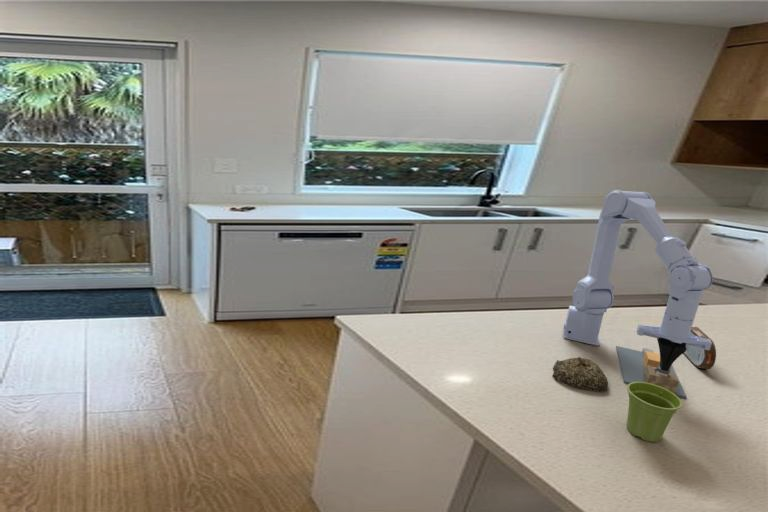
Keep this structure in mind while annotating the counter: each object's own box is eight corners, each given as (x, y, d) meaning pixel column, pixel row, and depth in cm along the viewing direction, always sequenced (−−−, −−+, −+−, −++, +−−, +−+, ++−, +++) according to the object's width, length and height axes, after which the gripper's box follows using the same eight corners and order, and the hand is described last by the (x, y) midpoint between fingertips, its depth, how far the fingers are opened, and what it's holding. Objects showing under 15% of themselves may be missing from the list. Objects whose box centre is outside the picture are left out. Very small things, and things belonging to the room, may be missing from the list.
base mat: (624, 383, 108) (624, 381, 108) (615, 347, 127) (616, 345, 127) (686, 398, 104) (686, 396, 103) (668, 359, 122) (668, 357, 122)
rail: (651, 380, 109) (652, 375, 109) (641, 352, 124) (643, 348, 123) (662, 383, 108) (664, 377, 108) (651, 355, 123) (652, 350, 122)
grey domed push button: (653, 385, 106) (657, 369, 105) (651, 379, 109) (655, 364, 107) (666, 388, 105) (671, 372, 104) (664, 382, 108) (669, 367, 107)
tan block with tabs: (644, 373, 112) (648, 359, 110) (641, 364, 116) (645, 350, 115) (667, 378, 110) (671, 364, 109) (663, 369, 114) (667, 355, 113)
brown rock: (610, 397, 102) (615, 378, 100) (552, 384, 105) (557, 365, 103) (601, 370, 113) (605, 353, 112) (550, 359, 117) (553, 342, 115)
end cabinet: (645, 387, 106) (649, 374, 105) (642, 377, 110) (646, 364, 109) (674, 394, 104) (679, 381, 103) (670, 384, 108) (674, 371, 107)
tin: (712, 375, 116) (721, 346, 114) (698, 373, 117) (708, 343, 114) (686, 349, 130) (694, 322, 128) (674, 347, 131) (682, 320, 128)
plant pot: (607, 416, 94) (617, 380, 91) (649, 417, 95) (660, 381, 92) (635, 447, 85) (647, 408, 82) (681, 448, 86) (694, 409, 83)
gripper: (646, 314, 101) (631, 368, 105) (722, 330, 96) (703, 385, 100) (641, 304, 107) (628, 355, 111) (712, 318, 102) (695, 371, 106)
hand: (663, 368), depth 106 cm, fingers closed, pressing on grey domed push button
